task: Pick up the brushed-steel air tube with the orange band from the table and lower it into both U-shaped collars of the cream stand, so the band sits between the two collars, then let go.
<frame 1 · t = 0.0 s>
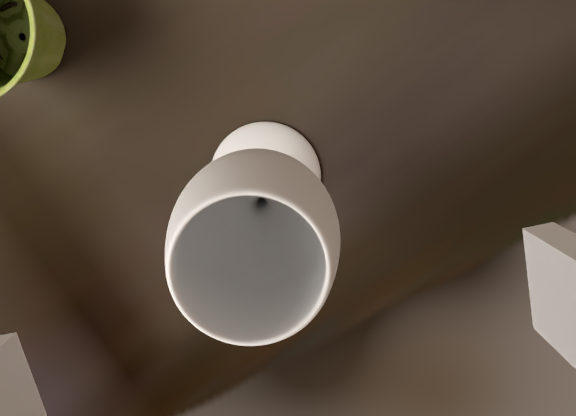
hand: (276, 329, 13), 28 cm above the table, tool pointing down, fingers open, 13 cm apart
wineglass: (265, 176, 41), on the table
plant pot: (26, 36, 38), on the table
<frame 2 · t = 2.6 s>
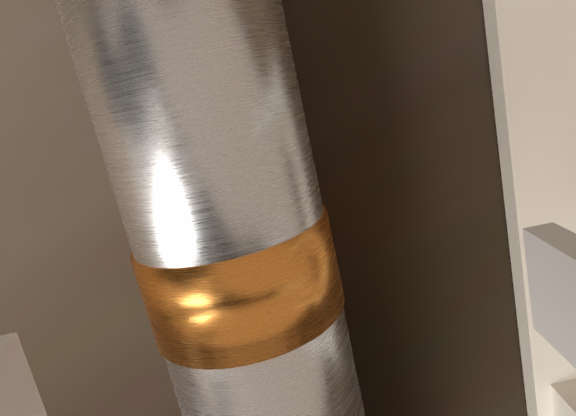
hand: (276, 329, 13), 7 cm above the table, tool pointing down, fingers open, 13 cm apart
air tube: (267, 238, 19), on the table, tilted 15°
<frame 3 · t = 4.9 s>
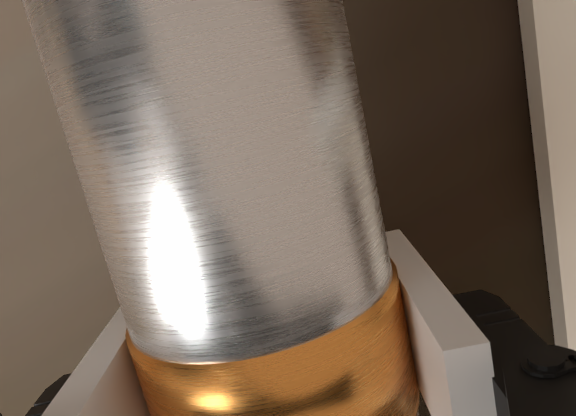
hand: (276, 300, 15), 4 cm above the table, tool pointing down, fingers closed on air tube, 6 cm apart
air tube: (284, 294, 15), point 3 cm above the table, touching gripper
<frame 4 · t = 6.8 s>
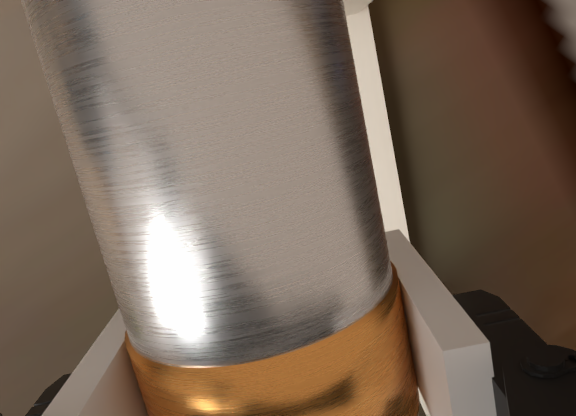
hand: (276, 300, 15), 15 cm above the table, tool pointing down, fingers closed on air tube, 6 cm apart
air tube: (284, 296, 15), point 15 cm above the table, touching gripper
collar stand: (289, 180, 30), on the table
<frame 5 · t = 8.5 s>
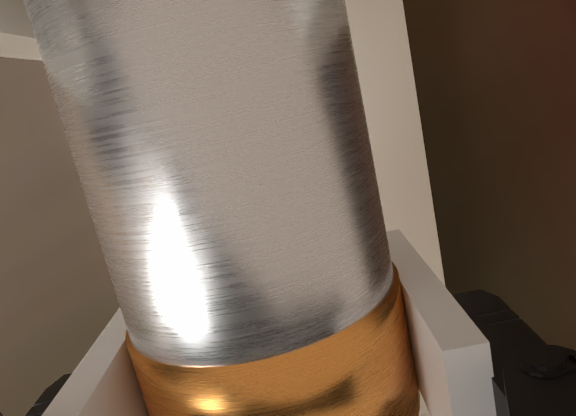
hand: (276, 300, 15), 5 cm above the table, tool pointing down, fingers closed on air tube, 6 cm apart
air tube: (284, 296, 15), point 5 cm above the table, touching gripper
collar stand: (275, 242, 20), on the table
when the fingers open (4 cm above the table, at t = 9.1 s): air tube stays where it is, resting on collar stand.
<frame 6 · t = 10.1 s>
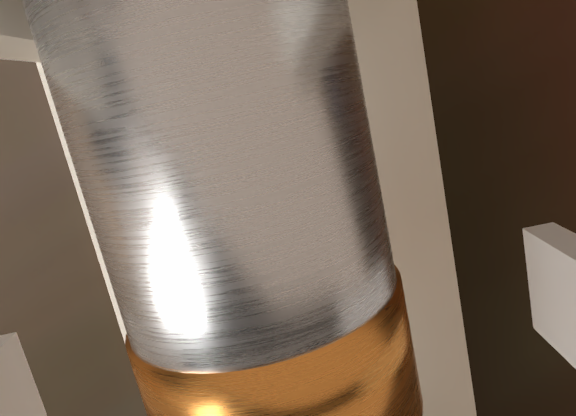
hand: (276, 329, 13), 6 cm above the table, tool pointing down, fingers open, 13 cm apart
air tube: (286, 299, 15), point 4 cm above the table, touching collar stand
collar stand: (278, 255, 19), on the table
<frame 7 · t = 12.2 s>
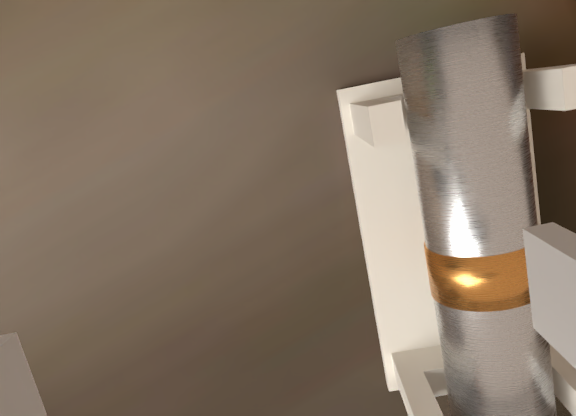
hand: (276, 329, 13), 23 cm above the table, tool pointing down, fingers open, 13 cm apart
air tube: (469, 247, 32), point 4 cm above the table, touching collar stand
collar stand: (447, 230, 36), on the table
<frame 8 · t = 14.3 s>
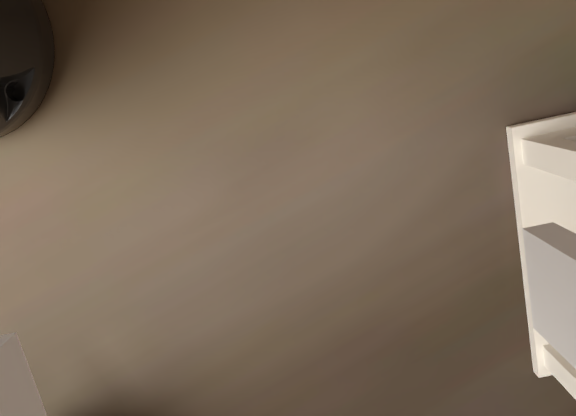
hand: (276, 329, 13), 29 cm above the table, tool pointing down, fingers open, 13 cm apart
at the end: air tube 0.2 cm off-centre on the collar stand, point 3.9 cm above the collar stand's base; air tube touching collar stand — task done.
